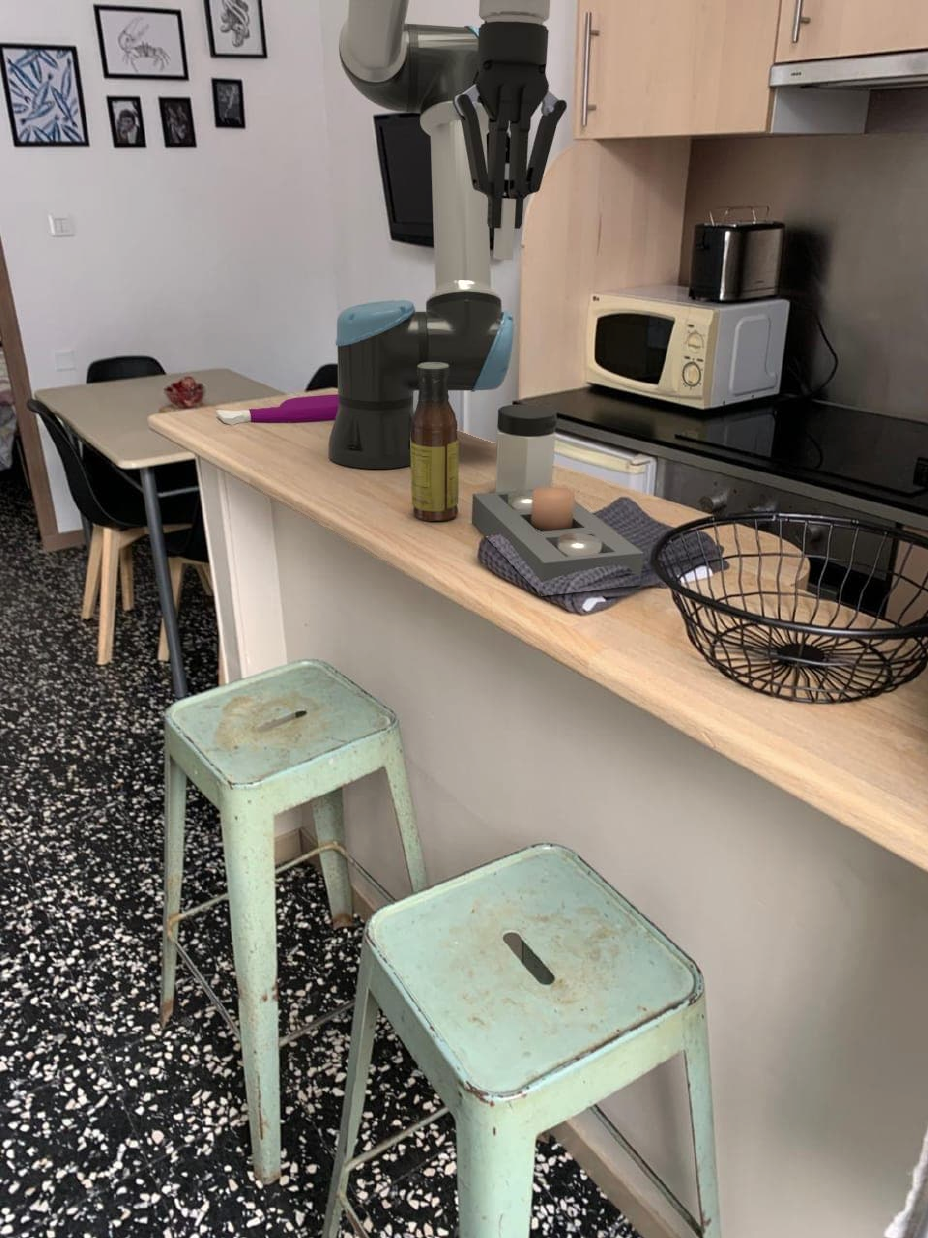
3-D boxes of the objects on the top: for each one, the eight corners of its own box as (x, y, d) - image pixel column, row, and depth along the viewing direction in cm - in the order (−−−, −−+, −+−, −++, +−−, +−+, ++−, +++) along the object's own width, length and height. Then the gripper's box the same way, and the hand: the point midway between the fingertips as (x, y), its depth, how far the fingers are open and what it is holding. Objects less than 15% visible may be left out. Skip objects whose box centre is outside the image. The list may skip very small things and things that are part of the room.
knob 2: (548, 567, 108) (550, 535, 107) (587, 563, 110) (590, 531, 108) (565, 584, 104) (568, 550, 102) (606, 580, 106) (609, 547, 104)
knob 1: (500, 521, 122) (502, 492, 120) (536, 518, 123) (538, 489, 122) (514, 534, 118) (516, 504, 116) (551, 531, 119) (553, 501, 117)
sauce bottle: (445, 505, 129) (449, 358, 120) (466, 519, 124) (471, 367, 115) (401, 511, 126) (402, 360, 117) (421, 526, 121) (423, 370, 112)
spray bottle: (362, 420, 171) (228, 433, 162) (343, 407, 180) (214, 418, 171) (361, 404, 170) (226, 416, 161) (342, 391, 179) (213, 402, 169)
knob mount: (471, 523, 122) (472, 493, 121) (556, 516, 126) (558, 487, 124) (541, 596, 102) (543, 562, 100) (639, 586, 105) (643, 553, 104)
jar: (553, 505, 130) (559, 419, 125) (494, 503, 130) (498, 417, 125) (548, 485, 138) (554, 404, 133) (493, 483, 138) (497, 402, 133)
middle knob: (524, 519, 114) (526, 488, 112) (562, 516, 115) (564, 485, 114) (540, 533, 110) (542, 501, 108) (579, 530, 111) (582, 498, 109)
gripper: (467, 13, 95) (460, 261, 105) (584, 23, 98) (566, 262, 109) (445, 22, 101) (440, 255, 111) (556, 31, 105) (541, 256, 115)
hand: (502, 258), depth 110 cm, fingers closed
